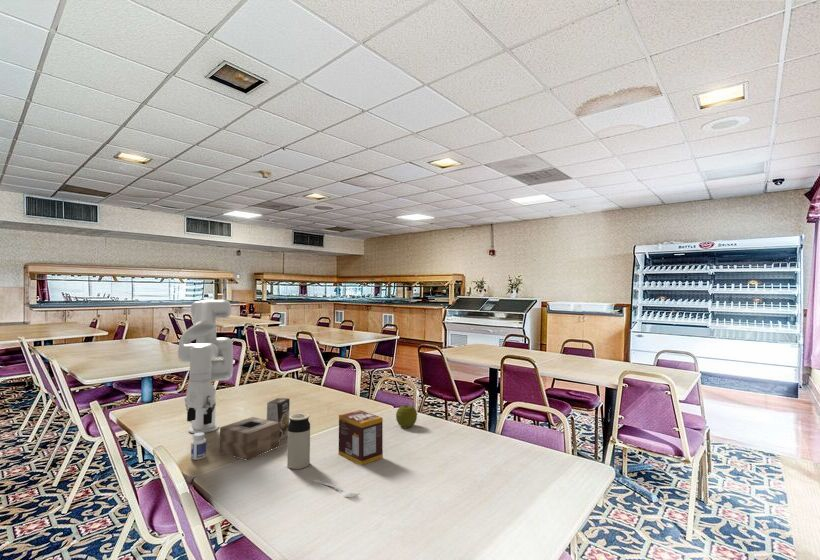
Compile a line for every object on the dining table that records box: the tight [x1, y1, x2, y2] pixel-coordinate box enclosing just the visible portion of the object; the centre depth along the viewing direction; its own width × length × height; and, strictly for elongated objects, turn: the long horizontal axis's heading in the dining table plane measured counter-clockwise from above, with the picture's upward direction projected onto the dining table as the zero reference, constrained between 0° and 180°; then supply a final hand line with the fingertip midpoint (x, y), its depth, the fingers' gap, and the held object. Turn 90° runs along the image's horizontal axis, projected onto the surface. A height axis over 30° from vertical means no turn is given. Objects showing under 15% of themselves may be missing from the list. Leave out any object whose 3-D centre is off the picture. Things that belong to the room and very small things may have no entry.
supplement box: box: [338, 409, 384, 466], centre depth 160 cm, size 10×15×16 cm
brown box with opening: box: [219, 416, 280, 461], centre depth 166 cm, size 16×16×10 cm
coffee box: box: [266, 397, 291, 442], centre depth 181 cm, size 9×6×16 cm
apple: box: [395, 403, 418, 429], centre depth 196 cm, size 10×10×11 cm
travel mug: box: [286, 412, 311, 470], centre depth 151 cm, size 8×8×18 cm
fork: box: [313, 479, 361, 498], centre depth 134 cm, size 3×24×2 cm, turn 51°
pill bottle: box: [190, 432, 207, 461], centre depth 158 cm, size 5×5×9 cm
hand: (199, 422), depth 158 cm, fingers open, 9 cm apart
